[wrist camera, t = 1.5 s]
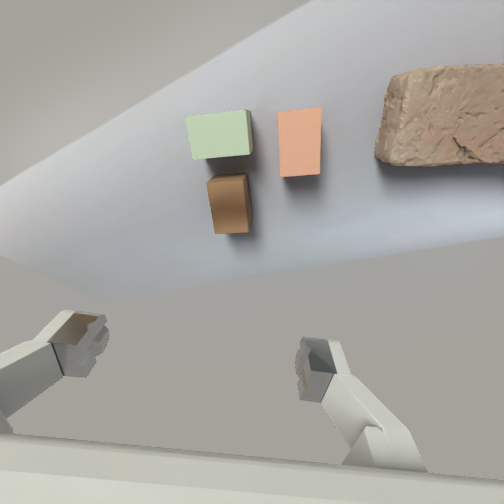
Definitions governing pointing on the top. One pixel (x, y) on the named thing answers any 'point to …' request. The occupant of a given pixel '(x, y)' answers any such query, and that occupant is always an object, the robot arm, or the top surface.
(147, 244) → the top surface
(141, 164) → the top surface
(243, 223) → the walnut block
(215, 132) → the sage block
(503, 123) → the brick
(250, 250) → the top surface
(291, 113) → the terracotta block
